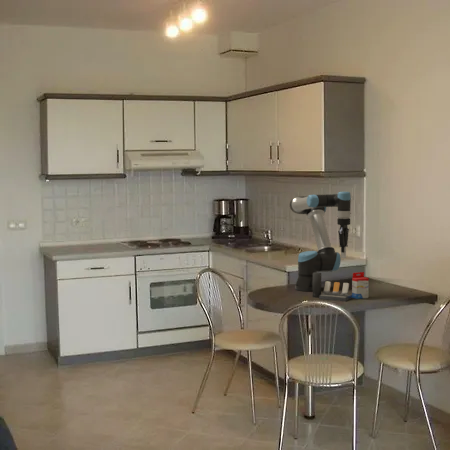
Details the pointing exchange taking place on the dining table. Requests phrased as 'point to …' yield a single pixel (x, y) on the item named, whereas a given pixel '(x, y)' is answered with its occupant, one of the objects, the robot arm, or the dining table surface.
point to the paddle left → (327, 287)
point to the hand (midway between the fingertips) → (343, 257)
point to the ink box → (360, 286)
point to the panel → (335, 296)
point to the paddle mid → (336, 288)
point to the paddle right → (345, 289)
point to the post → (316, 284)
